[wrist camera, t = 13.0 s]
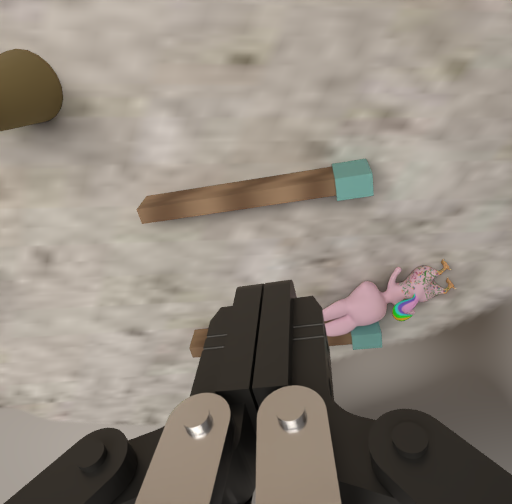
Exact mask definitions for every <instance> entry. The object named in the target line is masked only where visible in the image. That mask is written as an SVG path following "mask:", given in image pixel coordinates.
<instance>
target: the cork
mask: <svg viewBox="0 0 512 504" xmlns="http://www.w3.org/2000/svg"><path fill="white" fill-rule="evenodd" d="M62 100H63V94H62V87H61V84H60V82H59V79H58V77H57V75H56V73H55V72H54V70H53V69H52V68H51V66H50V65H49V64H48V63H47V62H46V61H45V60H43V59H42V58H41V57H40V56H38V55H36V54H34V53H32V52H30V51H28V50H21V49H13V50H9V51H6V52H4V53H1V54H0V131H4V130H9V129H13V128H18V127H23V126H27V125H32V124H36V123H41V122H46V121H49V120H51V119H52V118H54V117H55V116H56V115H57V114H58V112H59V110H60V109H61V105H62Z"/></svg>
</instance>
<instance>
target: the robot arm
mask: <svg viewBox="0 0 512 504" xmlns="http://www.w3.org/2000/svg"><path fill="white" fill-rule="evenodd" d="M203 349H204V350H203V351H202V354H201V358H200V361H199V365H198V369H197V372H196V376H195V380H194V383H193V387H192V391H191V394H190V397H189V398H187V399H185V400H184V401H182V402H181V403H180V404H179V405H177V406H176V407H175V409H174V410H173V411H172V412H171V414H170V415H169V418H168V420H167V422H166V425H165V426H164V427H162V428H160V429H158V430H155V431H153V432H150V433H147V434H145V435H142V436H139V437H137V438H134V439H131V440H127V438H126V437H125V435H124V434H123V433H122V432H121V431H120V430H118V429H114V428H104V429H100V430H96V431H94V432H92V433H90V434H88V435H86V436H85V437H83V438H82V439H81V440H79V441H78V442H77V443H76V444H75V445H73V446H72V447H71V448H70V449H69V450H67V451H66V452H65V453H64V454H63V455H61V456H60V457H59V458H58V459H57V460H56V461H54V462H53V463H52V464H51V465H49V466H48V467H47V468H46V469H45V470H43V471H42V472H41V473H40V474H39V475H37V476H36V477H35V478H34V479H33V480H31V481H30V482H29V483H28V484H27V485H25V486H24V487H23V488H22V489H21V490H19V491H18V492H17V493H16V494H15V495H14V496H12V497H11V498H10V499H9V500H8V501H6V502H5V503H4V504H512V475H511V474H510V473H508V472H507V471H506V470H504V469H503V468H502V467H500V466H499V465H498V464H496V463H495V462H493V461H492V460H491V459H489V458H488V457H487V456H485V455H484V454H483V453H481V452H480V451H479V450H477V449H476V448H475V447H473V446H472V445H470V444H469V443H468V442H466V441H465V440H464V439H462V438H461V437H460V436H458V435H457V434H456V433H454V432H453V431H451V430H450V429H449V428H447V427H446V426H445V425H443V424H442V423H441V422H439V421H438V420H437V419H435V418H433V417H432V416H430V415H428V414H426V413H424V412H421V411H417V410H412V409H398V410H393V411H390V412H387V413H385V414H383V415H382V416H380V417H379V418H378V419H377V420H373V419H368V418H364V417H360V416H357V415H353V414H351V413H349V412H347V411H345V410H344V409H342V408H341V407H339V406H338V405H337V404H336V403H335V402H334V396H333V384H332V372H331V360H330V349H329V344H328V338H327V333H326V328H325V322H324V317H323V311H322V307H321V306H320V305H319V303H318V302H317V301H316V299H315V298H314V297H313V296H308V297H300V298H296V293H295V289H294V284H293V281H292V280H286V281H278V282H271V283H265V284H257V285H249V286H242V287H237V289H236V294H235V298H234V303H233V306H229V307H221V308H220V310H219V311H218V312H217V313H216V315H215V316H214V317H213V318H212V320H211V321H210V325H209V328H208V332H207V338H206V339H205V343H204V347H203Z"/></svg>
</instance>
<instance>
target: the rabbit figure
mask: <svg viewBox="0 0 512 504" xmlns="http://www.w3.org/2000/svg"><path fill="white" fill-rule="evenodd" d="M443 260H444V259H443ZM443 260H442V261H441V263H442V264H443V266H444V268H443V269H442V270H435V269H433V268H431V267H429V266H420V267H417V268H416V269H415V270H414V271H413V272H412V273H411V274H410V275H409V276H408V277H407V278H406V280H405V281H403V282H399V283H395V280H396V277H397V275H398V274H399V273H400V272H401V268H400V267H397V268H396V269H395V270H394V272H393V274H392V275H391V277H390V280H389V282H388V287H387V290H386V291H385V292H380V291H379V290H378V288H377V286H376V285H375V284H374V283H372V282H370V281H364V282H362V283H361V284H360V285H359V286H358V287H357V288H356V289H355V290H354V291H353V292H352V293H351V294H350V295H349V296H348V297H347V298H345V299H341V300H339V301H336V302H335V303H333V304H331V305H330V306H328V307H327V308H325V309H323V310H322V311H323V317H324V321H328V320H332V319H335V320H333V321H331V322H328V323H325V328H326V333H327V336H332V337H333V336H340V335H344V334H347V333H349V332H351V331H352V330H353V329H354V328H355V327H357V326H366V325H370V324H373V323H376V322H378V321H379V320H381V319H382V318H383V317H384V316H385V314H386V310H387V303H389V302H391V303H392V304H394V305H395V306H394V307H393V311H392V313H393V316H394V318H395V319H396V320H398V321H405V320H407V319H409V318H410V317H411V316H412V315H409V314H414V313H415V311H414V310H413V308H414V307H415V306H416V304H417V302H426V301H428V300H430V299H431V298H432V297H434V296H436V295H438V294H446V293H447V292H448V290H449V289H451V288H454V285H453V284H452V283H451V281H450V280H449V279H448V278H449V277H448V278H447V280H446V282H447V283H448V287H447V288H442V287H440V286H439V285H438V284H437V283H436V282H435V281H433V279H434V278H435V277H436V276H438V275H441V274H442V273H443V272H444V271H445V270H446V269H448V270H452V269H449V266H448V265H447V263H446V262H445V261H443ZM454 289H457V288H454ZM406 298H407V300H403V299H406ZM402 300H403V301H402ZM407 313H409V314H407ZM342 316H343V317H342ZM336 318H338V319H336Z"/></svg>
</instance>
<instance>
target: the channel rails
mask: <svg viewBox="0 0 512 504" xmlns="http://www.w3.org/2000/svg"><path fill="white" fill-rule="evenodd" d="M335 195H336V196H337V201H340V200H347V199H354V198H361V197H368V196H374V194H373V177H372V171H371V169H370V167H369V165H368V162H367V160H366V159H361V160H355V161H348V162H342V163H336V164H332V167H327V168H321V169H315V170H309V171H302V172H296V173H290V174H283V175H277V176H271V177H264V178H258V179H252V180H246V181H239V182H233V183H227V184H220V185H214V186H208V187H202V188H195V189H189V190H183V191H176V192H170V193H164V194H157V195H151V196H147V197H146V198H145V199H144V200H143V202H142V203H141V204H140V206H139V207H138V208H137V212H138V214H139V217H140V220H141V222H142V224H145V223H151V222H158V221H165V220H172V219H179V218H185V217H192V216H199V215H206V214H213V213H220V212H226V211H233V210H240V209H247V208H254V207H260V206H267V205H274V204H281V203H288V202H295V201H301V200H308V199H315V198H322V197H329V196H335ZM342 317H343V316H342ZM336 319H338V318H336ZM333 320H335V319H332V320H328V321H324V322H325V323H328V322H331V321H333ZM207 332H208V329H199V330H195V331H194V335H193V338H192V341H191V344H190V351H191V354H192V356H193V358H194V357H201V354H202V351H203V350H204V349H203V347H204V343H205V339H206V338H207ZM327 338H328V344H329V346H335V345H347V344H352V345H353V350H356V349H369V348H381V347H382V334H381V330H380V326H379V322H376V323H373V324H370V325H366V326H357V327H355V328H354V329H353V330H352V331H351V332H349V333H347V334H344V335H340V336H333V337H332V336H327Z"/></svg>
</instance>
